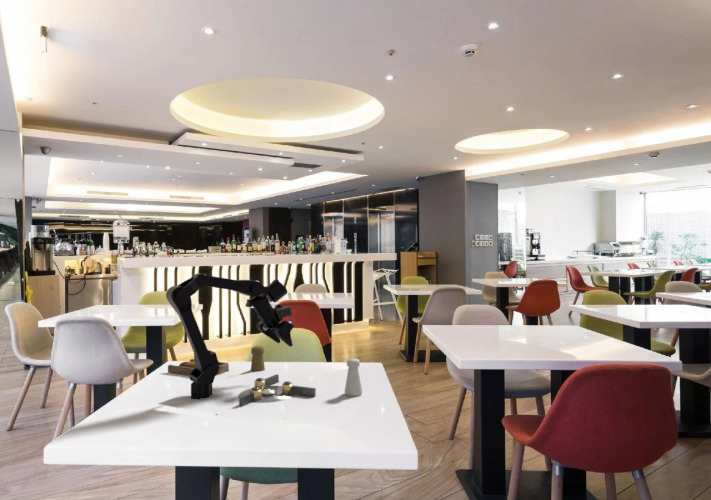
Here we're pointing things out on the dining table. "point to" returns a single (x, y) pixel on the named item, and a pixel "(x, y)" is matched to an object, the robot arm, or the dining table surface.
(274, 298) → the robot arm
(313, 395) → the knob right
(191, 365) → the sunglasses case
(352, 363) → the salt shaker
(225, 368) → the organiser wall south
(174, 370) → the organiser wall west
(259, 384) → the knob left
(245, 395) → the levelling base
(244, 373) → the dining table surface
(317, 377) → the dining table surface
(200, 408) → the dining table surface
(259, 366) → the cork
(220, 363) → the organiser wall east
